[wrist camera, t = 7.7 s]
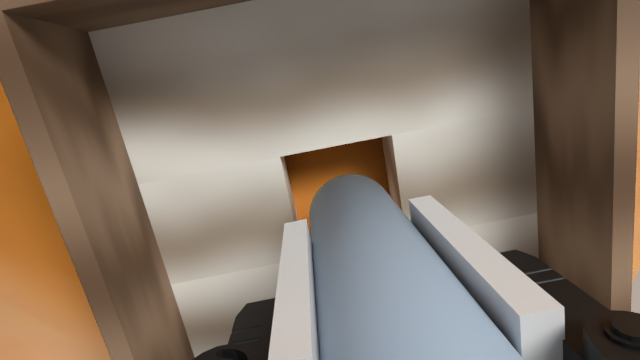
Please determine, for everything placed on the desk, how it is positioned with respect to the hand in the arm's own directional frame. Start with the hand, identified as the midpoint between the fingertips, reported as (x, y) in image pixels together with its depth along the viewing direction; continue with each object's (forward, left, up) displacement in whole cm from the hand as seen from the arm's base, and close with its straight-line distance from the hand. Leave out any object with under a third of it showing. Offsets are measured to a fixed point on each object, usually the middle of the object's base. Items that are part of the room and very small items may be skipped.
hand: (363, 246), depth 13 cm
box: (0, 0, -7) cm, 7 cm away
